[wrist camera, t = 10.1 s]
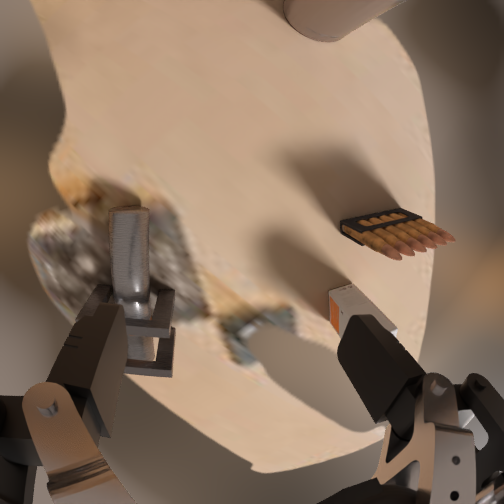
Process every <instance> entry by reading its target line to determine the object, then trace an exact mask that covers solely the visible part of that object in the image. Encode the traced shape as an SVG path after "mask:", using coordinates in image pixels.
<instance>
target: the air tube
mask: <svg viewBox="0 0 504 504" xmlns="http://www.w3.org/2000/svg"><path fill="white" fill-rule="evenodd" d="M109 245H110V263H111V276H112V286H113V296H114V304H121V305H123V307H124V314H125V318H133V319H145V320H152V317H151V304H150V283H149V209H148V208H145V207H140V206H121V207H115V208H111V209H110V210H109ZM127 340H128V355H127V359H135V360H146V361H153V360H154V357H155V353H154V343H153V337H146V336H135V335H127Z"/></svg>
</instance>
